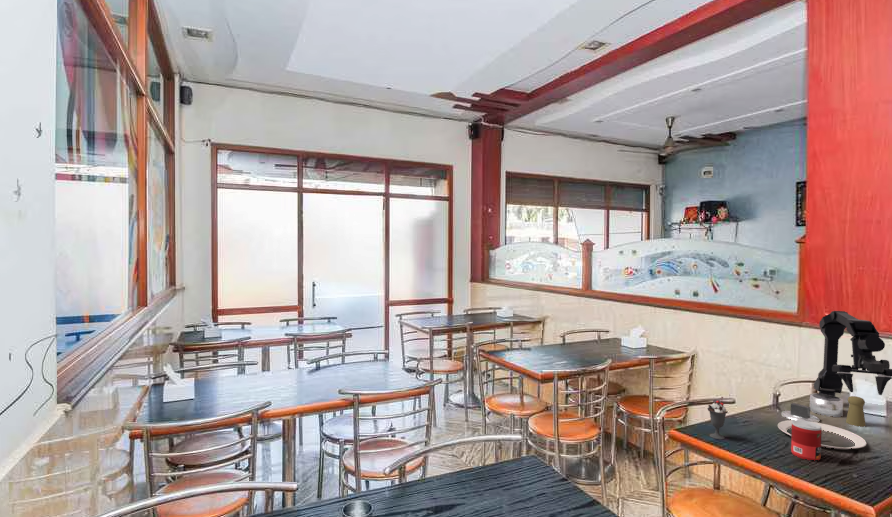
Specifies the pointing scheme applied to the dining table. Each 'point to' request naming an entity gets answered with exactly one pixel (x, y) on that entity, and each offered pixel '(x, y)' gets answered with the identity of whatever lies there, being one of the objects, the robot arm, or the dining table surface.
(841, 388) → the robot arm
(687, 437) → the dining table surface
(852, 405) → the cork
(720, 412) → the sundae
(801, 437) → the canned food
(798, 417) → the cooker lid
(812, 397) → the cooker pot
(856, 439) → the plate
